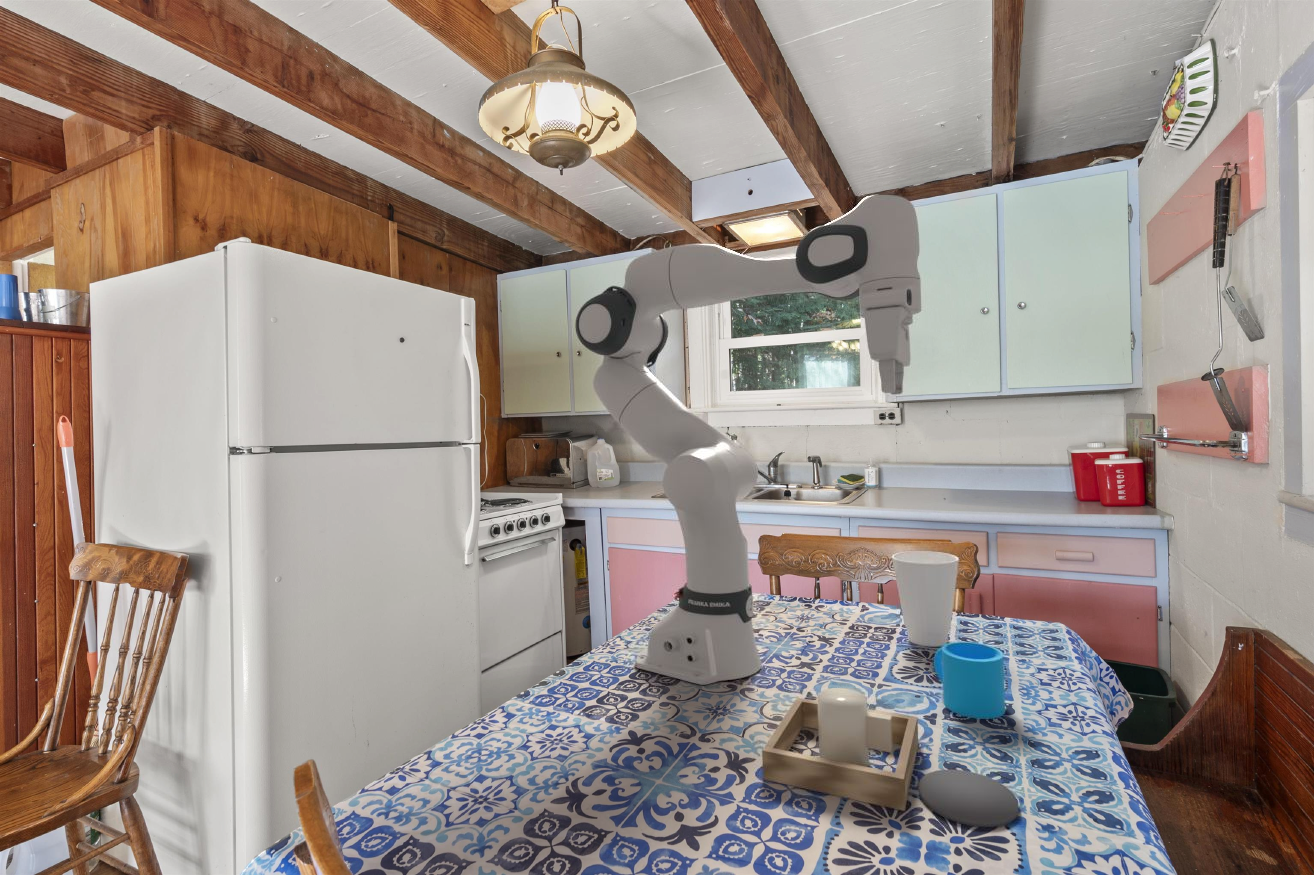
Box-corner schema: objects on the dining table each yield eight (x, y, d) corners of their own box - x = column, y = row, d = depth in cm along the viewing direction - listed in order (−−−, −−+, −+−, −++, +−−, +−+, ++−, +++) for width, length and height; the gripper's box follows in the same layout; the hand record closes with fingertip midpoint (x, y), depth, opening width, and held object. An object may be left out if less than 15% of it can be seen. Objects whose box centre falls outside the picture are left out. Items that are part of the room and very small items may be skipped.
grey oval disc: (914, 813, 69) (914, 807, 69) (922, 767, 78) (922, 762, 78) (1020, 836, 65) (1020, 831, 65) (1016, 785, 73) (1016, 780, 73)
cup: (893, 647, 119) (890, 562, 119) (895, 627, 130) (892, 549, 130) (963, 653, 114) (960, 565, 114) (960, 633, 125) (957, 551, 125)
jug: (814, 767, 79) (812, 703, 79) (825, 745, 84) (823, 685, 84) (889, 783, 75) (887, 715, 75) (895, 758, 80) (893, 695, 80)
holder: (763, 779, 77) (762, 750, 77) (797, 721, 91) (796, 697, 91) (904, 810, 70) (903, 779, 70) (918, 743, 84) (917, 716, 84)
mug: (1018, 713, 91) (1017, 656, 91) (971, 723, 89) (969, 664, 89) (957, 682, 103) (956, 631, 102) (914, 689, 100) (912, 638, 100)
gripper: (878, 314, 108) (880, 396, 109) (857, 295, 90) (860, 393, 90) (918, 310, 105) (920, 394, 106) (904, 289, 87) (907, 390, 87)
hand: (892, 393), depth 98 cm, fingers open, 8 cm apart
